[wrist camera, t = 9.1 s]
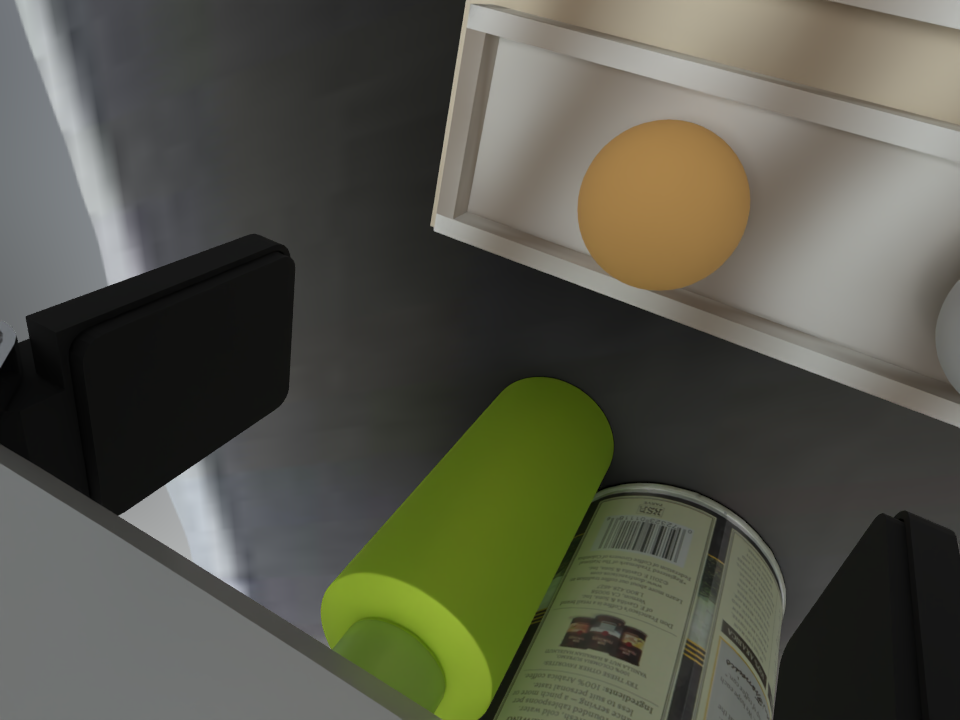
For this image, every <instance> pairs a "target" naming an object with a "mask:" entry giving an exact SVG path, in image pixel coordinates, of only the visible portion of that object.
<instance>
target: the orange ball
mask: <svg viewBox="0 0 960 720" xmlns="http://www.w3.org/2000/svg"><path fill="white" fill-rule="evenodd" d="M577 212H578V223H579V229H580V232H581V236H582V239H583V241H584V243H585V246H586V248H587V249H588V251H589V253H590V254H591V256H592V257H593V259H594V260H595V261H596V262H597V264H598V265H599V266H600V267H601V268H602V269H603V270H604V271H606V272H607V273H608V274H609V275H611V276H612V277H614V278H615V279H617V280H619V281H620V282H623V283H625V284H627V285H629V286H633V287H636V288H639V289H645V290H656V291H663V290H673V289H678V288H683V287H686V286H689V285H692V284H694V283H696V282H698V281H700V280H702V279H704V278H706V277H707V276H709V275H710V274H712V273H713V272H715V271H716V270H717V269H718V268H719V267H720V266H722V265H723V263H724V262H725V261H726V260H727V259H728V258H729V257H730V256H731V254H732V253H733V252H734V250H735V249H736V247H737V246H738V244H739V242H740V240H741V238H742V236H743V234H744V231H745V228H746V225H747V222H748V217H749V212H750V189H749V184H748V179H747V176H746V173H745V170H744V168H743V165H742V164H741V162H740V160H739V158H738V156H737V155H736V154H735V152H734V151H733V150H732V148H731V147H730V146H729V145H728V144H727V143H726V142H725V141H724V140H723V139H722V138H720V137H719V136H718V135H716V134H715V133H714V132H712V131H710V130H708V129H706V128H704V127H702V126H700V125H697V124H694V123H691V122H687V121H682V120H671V119H668V120H656V121H651V122H646V123H643V124H640V125H637V126H634V127H632V128H630V129H628V130H626V131H624V132H622V133H621V134H619V135H618V136H616V137H615V138H614V139H612V140H611V141H610V142H609V143H608V144H607V145H605V146H604V147H603V148H602V149H601V151H600V152H599V153H598V154H597V155H596V157H595V158H594V160H593V161H592V163H591V164H590V166H589V168H588V170H587V172H586V174H585V176H584V178H583V181H582V184H581V187H580V191H579V196H578V208H577Z"/></svg>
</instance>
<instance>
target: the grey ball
mask: <svg viewBox="0 0 960 720" xmlns="http://www.w3.org/2000/svg"><path fill="white" fill-rule="evenodd" d="M935 342H936V350H937V356H938V359H939V362H940V365H941V367H942V369H943V371H944V373H945V375H946V377H947V379H948V380H949V382H950V383H951V384H952V386H953V387H954V388H955V390H956V391H957V392H958V393H959V394H960V280H959V281H958V282H957V283H956V284H955V285H954V286H953V288H952V289H951V291H950V292H949V293H948V295H947V297H946V299H945V301H944V303H943V305H942V307H941V310H940V313H939V316H938V319H937V324H936V330H935Z"/></svg>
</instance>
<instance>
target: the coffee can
mask: <svg viewBox="0 0 960 720" xmlns="http://www.w3.org/2000/svg"><path fill="white" fill-rule="evenodd" d="M785 606H786V589H785V584H784V580H783V576H782V573H781V570H780V568H779V565H778V563H777V562H776V560H775V558H774V555H773V553H772V551H771V550H770V548H769V547H768V546H767V545H766V544H765V543H764V542H763V540H762V539H761V538H760V537H759V535H758V534H757V533H756V532H755V531H754V530H753V529H752V528H751V527H750V526H749V525H748V524H747V523H746V522H745V521H744V520H742V519H741V518H740V517H739V516H737V515H736V514H734V513H733V512H732V511H730V510H729V509H727V508H726V507H724V506H722V505H721V504H719V503H717V502H715V501H713V500H711V499H709V498H707V497H705V496H703V495H700V494H698V493H696V492H692V491H688V490H684V489H681V488H677V487H673V486H669V485H662V484H654V483H632V484H623V485H618V486H614V487H609V488H606V489H604V490H601V491H599V492H598V493H596V494H595V496H594V498H593V500H592V502H591V504H590V506H589V508H588V510H587V512H586V514H585V516H584V518H583V520H582V522H581V524H580V526H579V528H578V530H577V532H576V534H575V536H574V538H573V540H572V542H571V544H570V546H569V548H568V550H567V552H566V554H565V556H564V558H563V560H562V562H561V564H560V566H559V568H558V570H557V572H556V574H555V576H554V578H553V580H552V582H551V584H550V586H549V588H548V590H547V592H546V594H545V596H544V598H543V600H542V602H541V604H540V606H539V608H538V610H537V612H536V614H535V616H534V618H533V620H532V622H531V624H530V626H529V628H528V630H527V632H526V634H525V636H524V638H523V640H522V642H521V644H520V646H519V648H518V650H517V652H516V654H515V656H514V658H513V660H512V662H511V664H510V666H509V668H508V670H507V672H506V674H505V676H504V678H503V680H502V682H501V684H500V686H499V688H498V690H497V692H496V694H495V696H494V698H493V700H492V702H491V704H490V706H489V708H488V709H487V711H486V712H485V713H484V715H483V716H482V717H481V718H479V719H478V720H772V714H773V704H774V694H775V684H776V675H777V664H778V654H779V643H780V633H781V624H782V619H783V616H784V612H785Z"/></svg>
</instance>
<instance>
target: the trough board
mask: <svg viewBox="0 0 960 720" xmlns="http://www.w3.org/2000/svg"><path fill="white" fill-rule="evenodd" d="M668 119H671V120H682V121H687V122H691V123H694V124H697V125H700V126H702V127H704V128H706V129H708V130H710V131H712V132H714V133H715V134H716V135H718V136H719V137H720V138H722V139H723V140H724V141H725V142H726V143H727V144H728V145H729V146H730V147H731V148H732V150H733V151H734V152H735V154H736V155H737V156H738V158H739V160H740V162H741V164H742V165H743V168H744V170H745V173H746V176H747V179H748V184H749V189H750V212H749V217H748V222H747V225H746V228H745V231H744V234H743V236H742V238H741V240H740V242H739V244H738V246H737V247H736V249H735V250H734V252H733V253H732V254H731V256H730V257H729V258H728V259H727V260H726V261H725V262H724V263H723V265H722V266H720V267H719V268H718V269H717V270H716V271H715V272H713V273H712V274H710V275H709V276H707V277H706V278H704V279H702V280H700V281H698V282H696V283H694V284H692V285H689V286H686V287H683V288H678V289H673V290H663V291H656V290H645V289H639V288H636V287H633V286H629V285H627V284H625V283H623V282H620V281H619V280H617V279H615V278H614V277H612V276H611V275H609V274H608V273H607V272H606V271H604V270H603V269H602V268H601V267H600V266H599V265H598V264H597V262H596V261H595V260H594V259H593V257H592V256H591V254H590V253H589V251H588V249H587V248H586V246H585V243H584V241H583V239H582V236H581V232H580V229H579V223H578V212H577V208H578V196H579V191H580V187H581V184H582V181H583V178H584V176H585V174H586V172H587V170H588V168H589V166H590V164H591V163H592V161H593V160H594V158H595V157H596V155H597V154H598V153H599V152H600V151H601V149H602V148H603V147H604V146H605V145H607V144H608V143H609V142H610V141H611V140H612V139H614V138H615V137H616V136H618V135H619V134H621V133H622V132H624V131H626V130H628V129H630V128H632V127H634V126H637V125H640V124H643V123H646V122H651V121H656V120H668ZM430 226H433V227H434V231H435V232H438V233H441V234H443V235H446V236H449V237H451V238H454V239H457V240H459V241H462V242H465V243H467V244H470V245H473V246H476V247H478V248H481V249H484V250H486V251H489V252H492V253H494V254H497V255H500V256H502V257H505V258H508V259H510V260H513V261H516V262H518V263H521V264H524V265H526V266H529V267H532V268H534V269H537V270H540V271H542V272H545V273H548V274H550V275H553V276H556V277H558V278H561V279H564V280H566V281H569V282H572V283H574V284H577V285H580V286H582V287H585V288H588V289H591V290H593V291H596V292H599V293H601V294H604V295H607V296H609V297H612V298H615V299H617V300H620V301H623V302H625V303H628V304H631V305H633V306H636V307H639V308H641V309H644V310H647V311H649V312H652V313H655V314H657V315H660V316H663V317H665V318H668V319H671V320H673V321H676V322H679V323H681V324H684V325H687V326H689V327H692V328H695V329H697V330H700V331H703V332H706V333H708V334H711V335H714V336H716V337H719V338H722V339H724V340H727V341H730V342H732V343H735V344H738V345H740V346H743V347H746V348H748V349H751V350H754V351H756V352H759V353H762V354H764V355H767V356H770V357H772V358H775V359H778V360H780V361H783V362H786V363H788V364H791V365H794V366H796V367H799V368H802V369H804V370H807V371H810V372H812V373H815V374H818V375H821V376H823V377H826V378H829V379H831V380H834V381H837V382H839V383H842V384H845V385H847V386H850V387H853V388H855V389H858V390H861V391H863V392H866V393H869V394H871V395H874V396H877V397H879V398H882V399H885V400H887V401H890V402H893V403H895V404H898V405H901V406H903V407H906V408H909V409H911V410H914V411H917V412H919V413H922V414H925V415H927V416H930V417H933V418H936V419H938V420H941V421H944V422H946V423H949V424H952V425H954V426H957V427H960V394H959V393H958V392H957V391H956V390H955V388H954V387H953V386H952V384H951V383H950V382H949V380H948V379H947V377H946V375H945V373H944V371H943V369H942V367H941V365H940V362H939V359H938V356H937V350H936V342H935V330H936V324H937V319H938V316H939V313H940V310H941V307H942V305H943V303H944V301H945V299H946V297H947V295H948V293H949V292H950V291H951V289H952V288H953V286H954V285H955V284H956V283H957V282H958V281H959V280H960V0H466V4H465V11H464V17H463V23H462V30H461V36H460V42H459V49H458V55H457V61H456V68H455V74H454V80H453V87H452V93H451V99H450V105H449V112H448V118H447V124H446V131H445V137H444V143H443V150H442V156H441V162H440V169H439V175H438V181H437V187H436V194H435V200H434V206H433V213H432V219H431V225H430Z"/></svg>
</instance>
